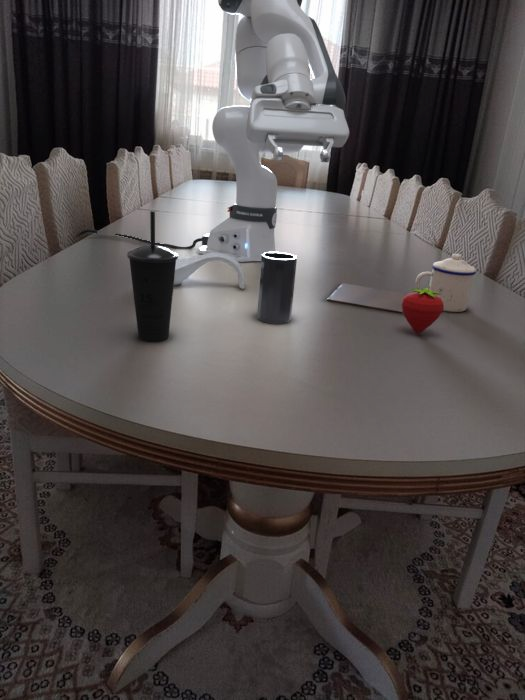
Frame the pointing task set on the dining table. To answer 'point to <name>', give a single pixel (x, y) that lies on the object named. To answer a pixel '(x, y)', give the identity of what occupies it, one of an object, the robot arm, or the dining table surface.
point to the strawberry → (422, 308)
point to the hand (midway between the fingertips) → (302, 159)
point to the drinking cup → (152, 287)
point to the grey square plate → (368, 297)
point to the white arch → (192, 264)
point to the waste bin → (276, 287)
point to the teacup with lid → (451, 282)
